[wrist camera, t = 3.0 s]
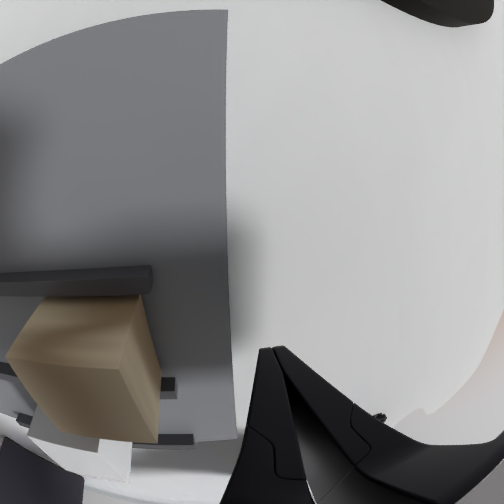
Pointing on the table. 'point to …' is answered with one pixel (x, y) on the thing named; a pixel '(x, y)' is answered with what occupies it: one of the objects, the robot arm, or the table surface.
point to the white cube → (81, 450)
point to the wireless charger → (447, 11)
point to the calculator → (35, 479)
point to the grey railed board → (124, 201)
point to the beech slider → (92, 366)
